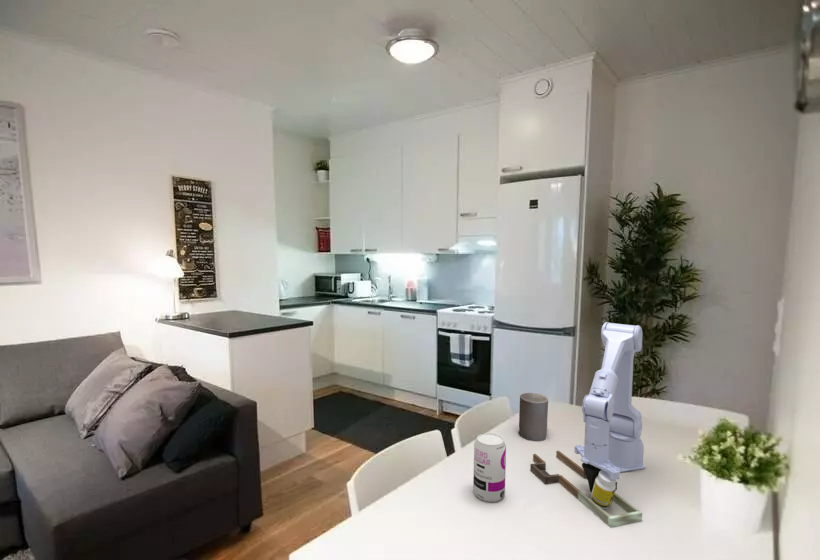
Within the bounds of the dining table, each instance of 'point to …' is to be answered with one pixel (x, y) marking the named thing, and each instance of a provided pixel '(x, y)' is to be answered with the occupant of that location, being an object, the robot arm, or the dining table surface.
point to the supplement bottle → (603, 490)
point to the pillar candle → (533, 416)
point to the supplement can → (489, 467)
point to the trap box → (611, 521)
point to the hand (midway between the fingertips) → (594, 492)
